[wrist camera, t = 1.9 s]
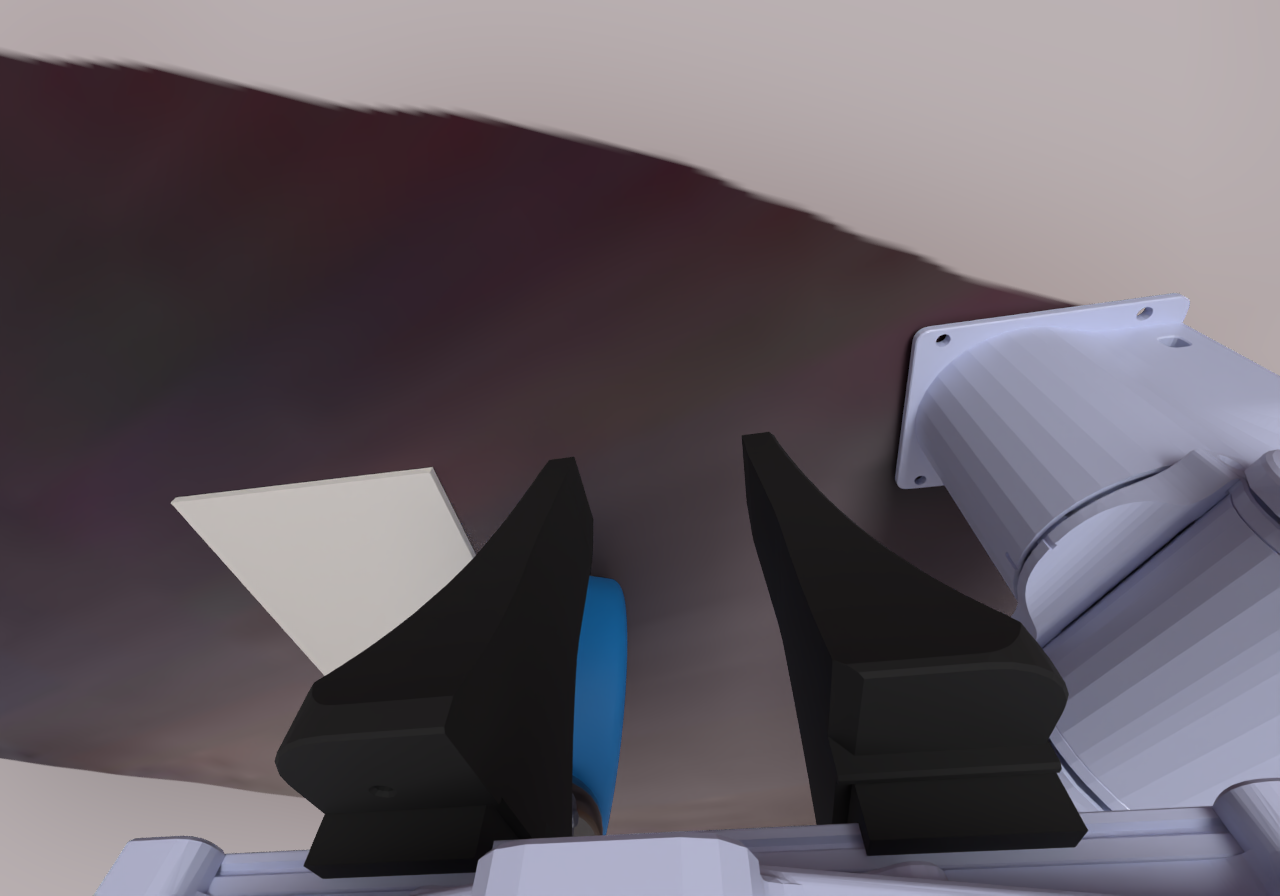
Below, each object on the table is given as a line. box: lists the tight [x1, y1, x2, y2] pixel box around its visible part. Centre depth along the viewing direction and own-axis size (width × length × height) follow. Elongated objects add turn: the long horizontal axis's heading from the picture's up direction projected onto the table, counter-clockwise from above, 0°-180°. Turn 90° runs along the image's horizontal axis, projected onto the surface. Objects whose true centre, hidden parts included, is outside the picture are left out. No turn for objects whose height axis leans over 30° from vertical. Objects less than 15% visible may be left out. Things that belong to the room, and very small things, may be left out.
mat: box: [171, 467, 476, 676], centre depth 33 cm, size 14×20×1 cm
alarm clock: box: [572, 576, 627, 837], centre depth 26 cm, size 13×6×15 cm, turn 167°
